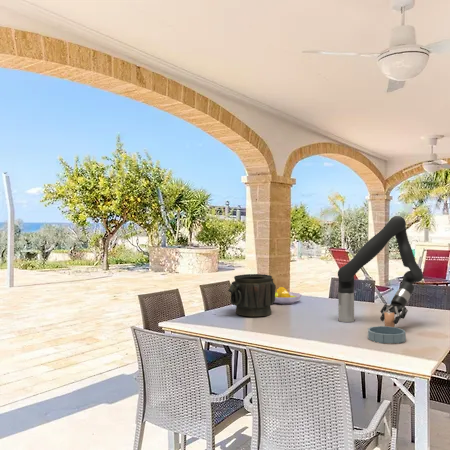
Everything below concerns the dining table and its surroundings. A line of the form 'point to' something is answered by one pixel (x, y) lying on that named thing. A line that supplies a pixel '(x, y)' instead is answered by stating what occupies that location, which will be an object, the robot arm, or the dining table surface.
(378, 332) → the bowl
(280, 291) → the fruit bowl
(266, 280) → the vessel
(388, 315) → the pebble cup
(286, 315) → the dining table surface
